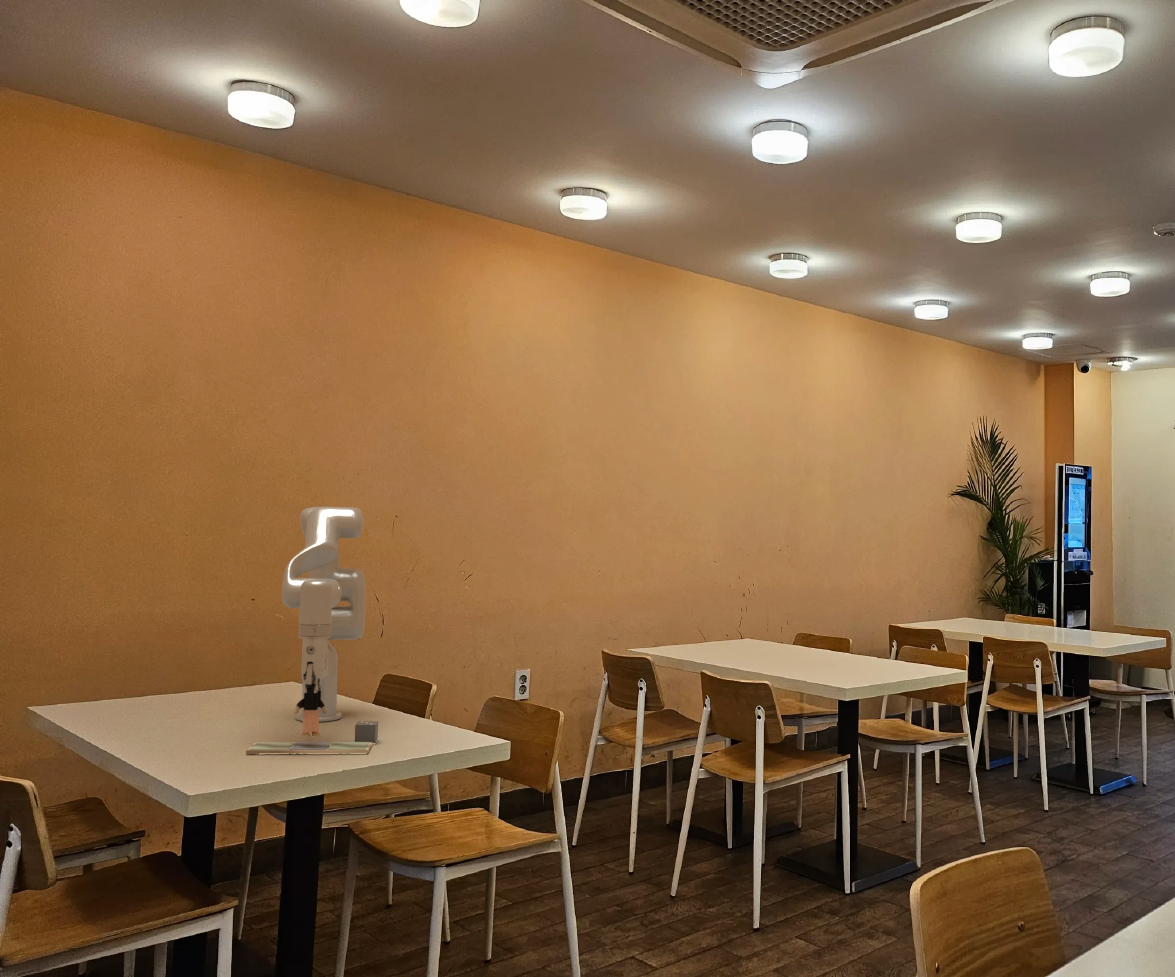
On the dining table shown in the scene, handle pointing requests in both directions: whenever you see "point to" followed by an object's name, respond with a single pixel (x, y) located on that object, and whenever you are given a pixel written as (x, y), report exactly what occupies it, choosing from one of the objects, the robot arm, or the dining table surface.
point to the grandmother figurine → (310, 718)
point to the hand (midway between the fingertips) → (312, 707)
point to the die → (366, 731)
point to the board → (309, 747)
